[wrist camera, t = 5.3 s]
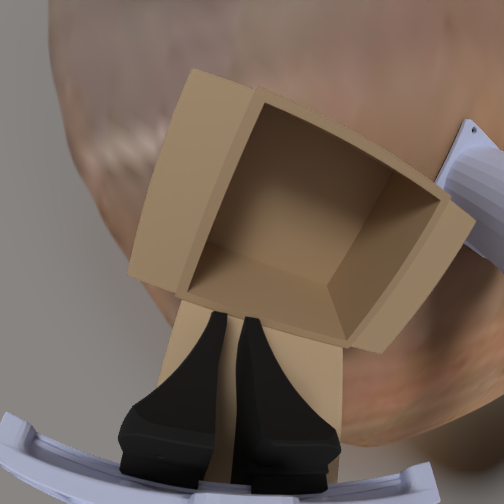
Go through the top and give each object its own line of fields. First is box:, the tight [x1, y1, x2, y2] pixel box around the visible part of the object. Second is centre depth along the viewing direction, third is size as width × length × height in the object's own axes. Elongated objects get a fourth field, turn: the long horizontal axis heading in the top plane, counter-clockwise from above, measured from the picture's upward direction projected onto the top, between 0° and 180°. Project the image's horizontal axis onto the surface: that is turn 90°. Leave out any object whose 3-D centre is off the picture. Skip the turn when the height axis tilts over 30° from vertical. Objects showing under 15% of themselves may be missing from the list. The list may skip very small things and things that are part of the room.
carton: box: [127, 68, 476, 354], centre depth 15 cm, size 15×10×6 cm, turn 67°
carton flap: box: [156, 300, 343, 484], centre depth 12 cm, size 9×10×1 cm
